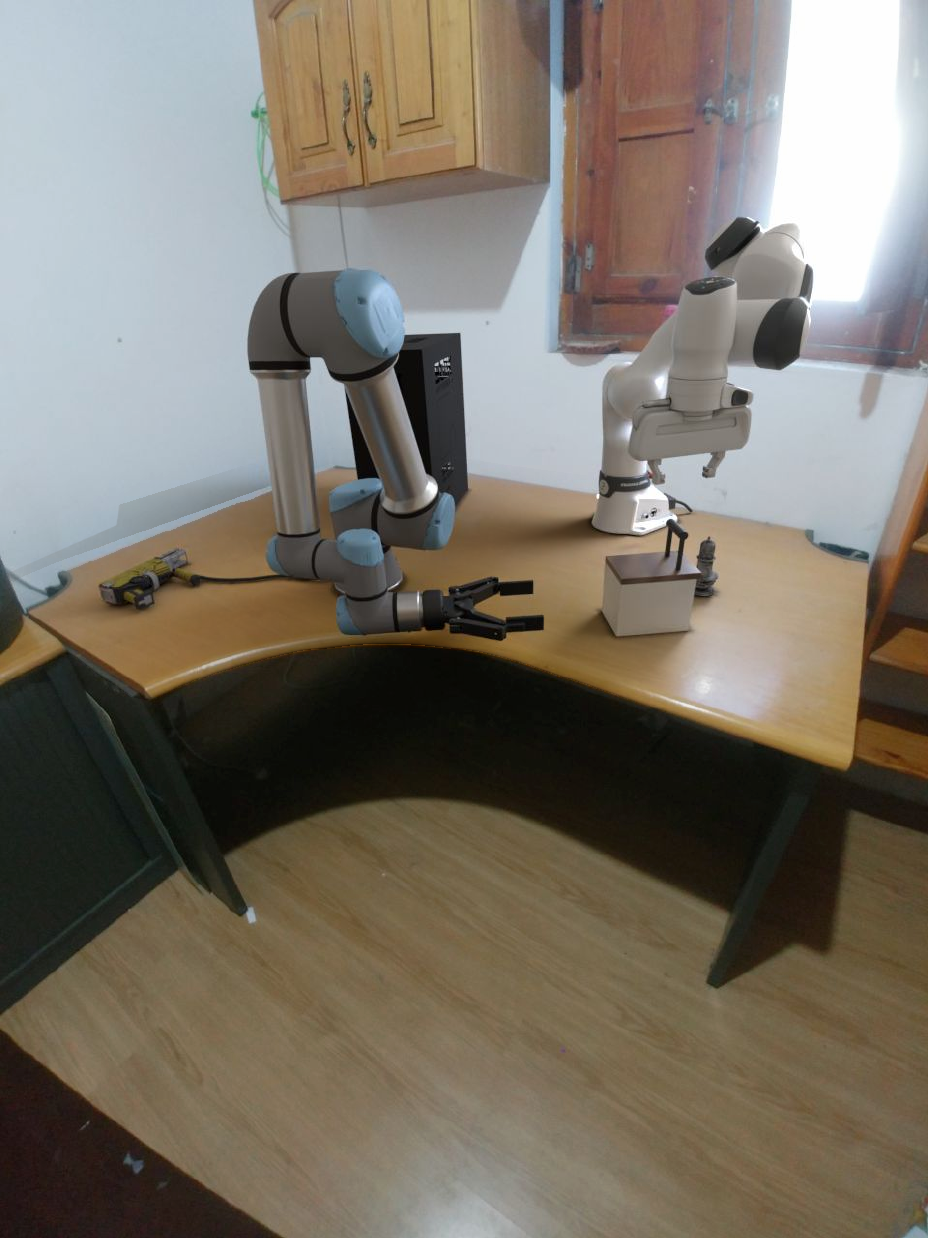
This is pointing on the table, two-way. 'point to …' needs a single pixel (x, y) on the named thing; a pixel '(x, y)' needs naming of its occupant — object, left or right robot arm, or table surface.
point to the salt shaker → (706, 568)
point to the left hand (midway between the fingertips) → (538, 603)
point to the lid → (655, 562)
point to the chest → (647, 605)
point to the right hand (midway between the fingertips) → (683, 480)
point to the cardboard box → (428, 411)
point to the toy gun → (146, 580)
